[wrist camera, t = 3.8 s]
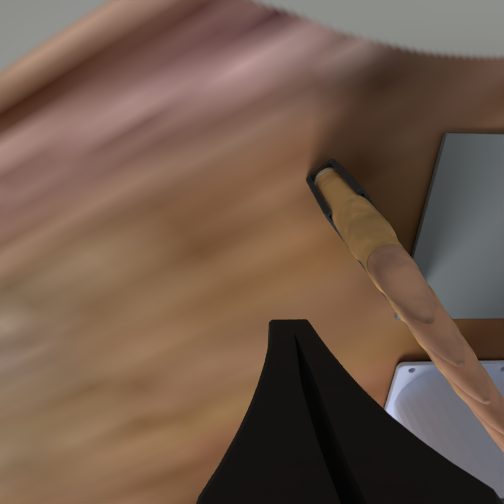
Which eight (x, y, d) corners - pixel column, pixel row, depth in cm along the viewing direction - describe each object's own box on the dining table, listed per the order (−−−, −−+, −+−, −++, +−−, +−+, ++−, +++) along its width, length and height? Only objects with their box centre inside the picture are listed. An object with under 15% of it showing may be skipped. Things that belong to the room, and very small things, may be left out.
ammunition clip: (304, 178, 18) (375, 315, 8) (333, 157, 18) (452, 272, 7) (396, 303, 22) (529, 512, 11) (422, 289, 21) (587, 494, 11)
